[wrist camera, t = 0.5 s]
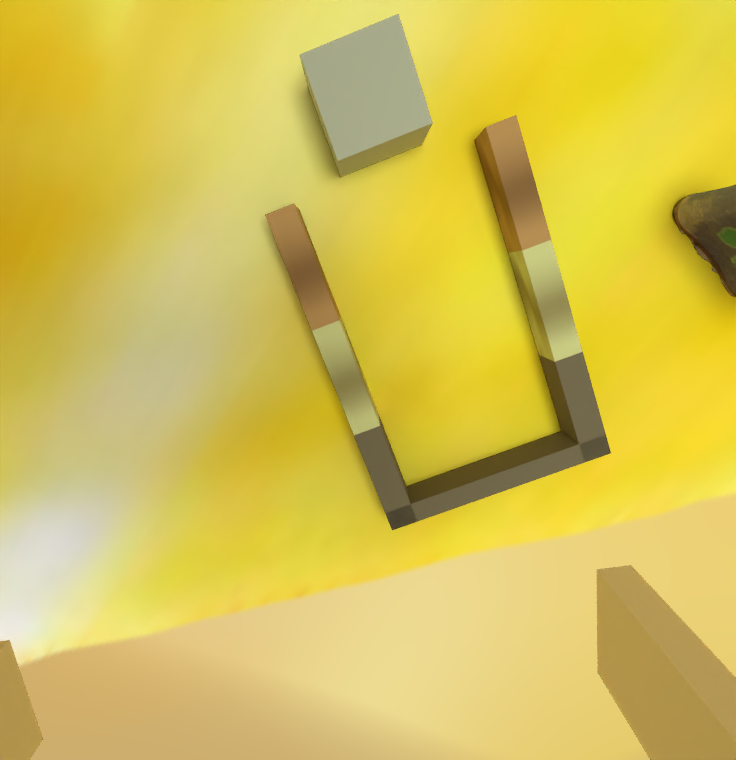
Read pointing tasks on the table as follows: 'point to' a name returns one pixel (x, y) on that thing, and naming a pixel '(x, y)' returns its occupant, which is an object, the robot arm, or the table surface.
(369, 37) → the block
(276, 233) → the channel rails
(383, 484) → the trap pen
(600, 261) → the table surface
